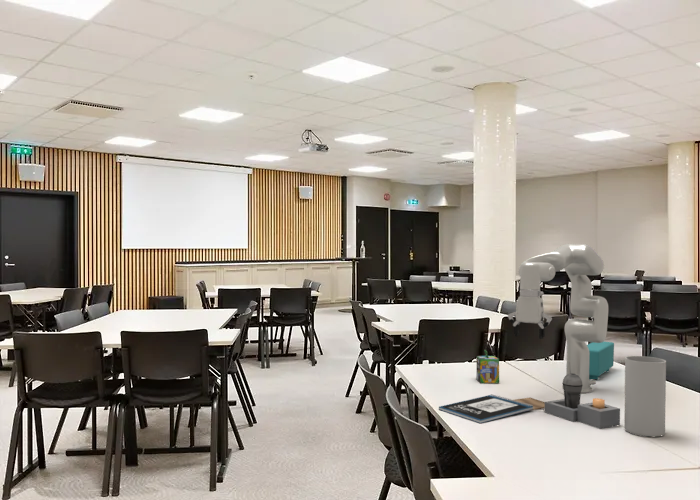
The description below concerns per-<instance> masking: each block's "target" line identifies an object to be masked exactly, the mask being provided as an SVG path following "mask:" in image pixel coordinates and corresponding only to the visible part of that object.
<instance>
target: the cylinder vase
mask: <svg viewBox="0 0 700 500" xmlns="http://www.w3.org/2000/svg"><path fill="white" fill-rule="evenodd" d="M624 360H625V361H624V419H623V420H624V422H623V423H624V424H623V425H624V426H623V427H624V430H625V431H626V432H628V433H629V432H630V433H629V434H632V435H635V434H636V435H635V436H639V435H641V436H640V437H644V436H661V435H663V436H665V434H666V393H667V392H666V391H667V389H666V387H667V385H666V384H667V380H666V379H667V377H666V376H667V360H666V359H663V358H659V357H653V356H644V355H631V356H629V355H627V356H625V359H624ZM661 437H662V436H661Z"/></svg>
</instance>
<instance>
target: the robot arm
mask: <svg viewBox="0 0 700 500" xmlns="http://www.w3.org/2000/svg"><path fill="white" fill-rule="evenodd" d="M604 269H605V265H604V260H603V258H602V257H601V255H599V254H598V252H597V251H596V250H595V249H594V248H593V247H592V246H591V245H589V244H586V243H565V244H562V245H560V246H559V247H557V248H556V249H554V250H552V251H550V252H546V253H542V254H539V255H535V256H532V257H530V258H527V259H525V260H524V261H522V262H521V264H520V265H519V267H518V271H517V272H518V276H519V278H520V279H519V281H520V282H519V296H518V298H517V302H516V308H515V311H514V312H511V313H509V314H507V318H508V320H509V322H510V323H511V324H512V326H513V334H514V337H519V336H520V330H521V329H520V324H521V323H525V324H537V325H538V326H539V334H538V338H539V339H540V340H543V339H544V337H546V332H545V331H546V328H547V327H548V326H549V325H550V323H551V321H553V317H552V316H549V315H548V314H546V313H545V312H544V309H545V308H544V302H543V298H542V297H541V296H543V295H544V294H545V293H544V291H541V282H549V281H551V280H553V279H554V278H555V275H556V272H560V271H562V270H564V271H565V272H566V274H567V275H568V278H569V280H570V282H571V288H570V289H571V290H570V291H571V292H570V300H569V301H570V305H569V306H570V307H569V308H570V313H571V314H572V315H573V316H577V317H583V318H593V319H592V320H590V319H580V318H572V319H571V318H570V319H568V320H567V321H566V322H565V324H564V335H565V341H566V366H565V367H566V375H567V374H570V369H569V362H570V365H571V373H573V374H576V375H578V376H579V377H580V378H581V380H582V385H583V386H582V391H581V394H587V393H589V392H590V393H592V392H593V387H591V386H593V385H596V384H597V380H590V379H589V349H588V347H587V345H588V344H587V343H588V342H589V343H592V342H594V343H601V342H603V341H604V342H605V340H606V338H607V333H608V322H609V321H608V320H609V303H608V301H607V299H606V298H605V297H604V296H600V295H592V290H593V289H592V288H593V285H592V281H591V279H590V278H589V277H588V276H599V275H601V274H602V273H603V272H604ZM514 316H515V319H514ZM545 319H546V321H545ZM544 321H545V322H544ZM586 342H587V343H586ZM566 375H565V376H566ZM590 393H589V394H590Z"/></svg>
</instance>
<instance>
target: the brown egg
mask: <svg viewBox="0 0 700 500" xmlns="http://www.w3.org/2000/svg"><path fill="white" fill-rule="evenodd" d="M605 402H606V400H605V399H603V398H599V397H595V398H592V403H593V407H594V408H597V409H603V408H605V404H606V403H605Z"/></svg>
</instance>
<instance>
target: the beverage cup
mask: <svg viewBox="0 0 700 500" xmlns="http://www.w3.org/2000/svg"><path fill="white" fill-rule="evenodd" d="M569 369H570V374H567V375H564V377H563V380H562V390H563V399H564V400H565V407H569V408H572V409H576V408H578V405H579V404H581V395H582V393H581V391H582V386H583V385H582V380H581V378H580V377H579V376H578V375H576V374H573V373H571V365H570V362H569Z"/></svg>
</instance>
